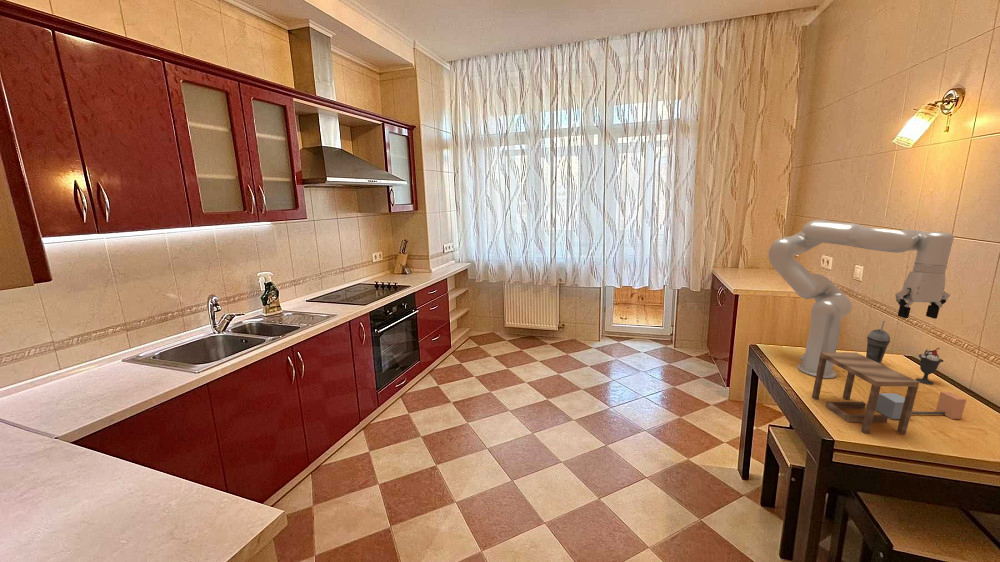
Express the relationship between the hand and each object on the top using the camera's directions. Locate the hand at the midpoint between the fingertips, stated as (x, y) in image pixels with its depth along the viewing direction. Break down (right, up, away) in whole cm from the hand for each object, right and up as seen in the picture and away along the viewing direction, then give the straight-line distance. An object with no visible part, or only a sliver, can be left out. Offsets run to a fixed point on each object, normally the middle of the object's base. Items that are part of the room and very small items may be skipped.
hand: (916, 317), depth 139 cm
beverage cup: (+16, -23, +34) cm, 44 cm away
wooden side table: (-25, -32, -4) cm, 41 cm away
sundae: (+22, -27, +18) cm, 39 cm away
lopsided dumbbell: (-5, -32, -5) cm, 33 cm away
